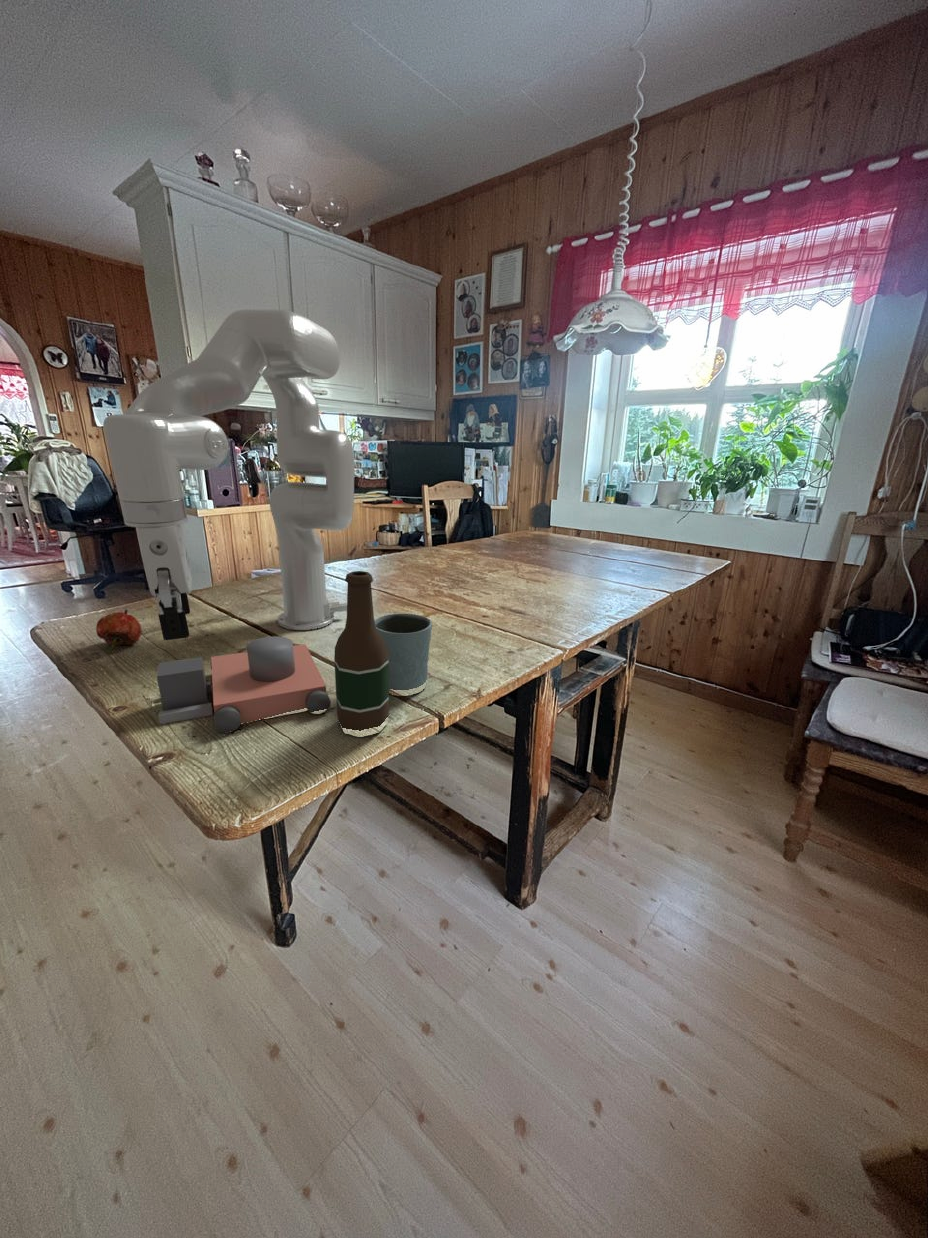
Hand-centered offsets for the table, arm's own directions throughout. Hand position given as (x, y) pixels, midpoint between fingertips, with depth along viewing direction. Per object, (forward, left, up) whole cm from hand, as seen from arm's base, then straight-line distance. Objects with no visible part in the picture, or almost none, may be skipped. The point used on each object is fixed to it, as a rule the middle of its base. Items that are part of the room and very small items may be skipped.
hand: (178, 625), depth 73 cm
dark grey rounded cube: (+1, +1, -14) cm, 13 cm away
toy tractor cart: (-8, +1, -13) cm, 16 cm away
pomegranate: (+12, -29, -14) cm, 35 cm away
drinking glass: (-34, +7, -14) cm, 37 cm away
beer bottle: (-24, +17, -14) cm, 32 cm away
